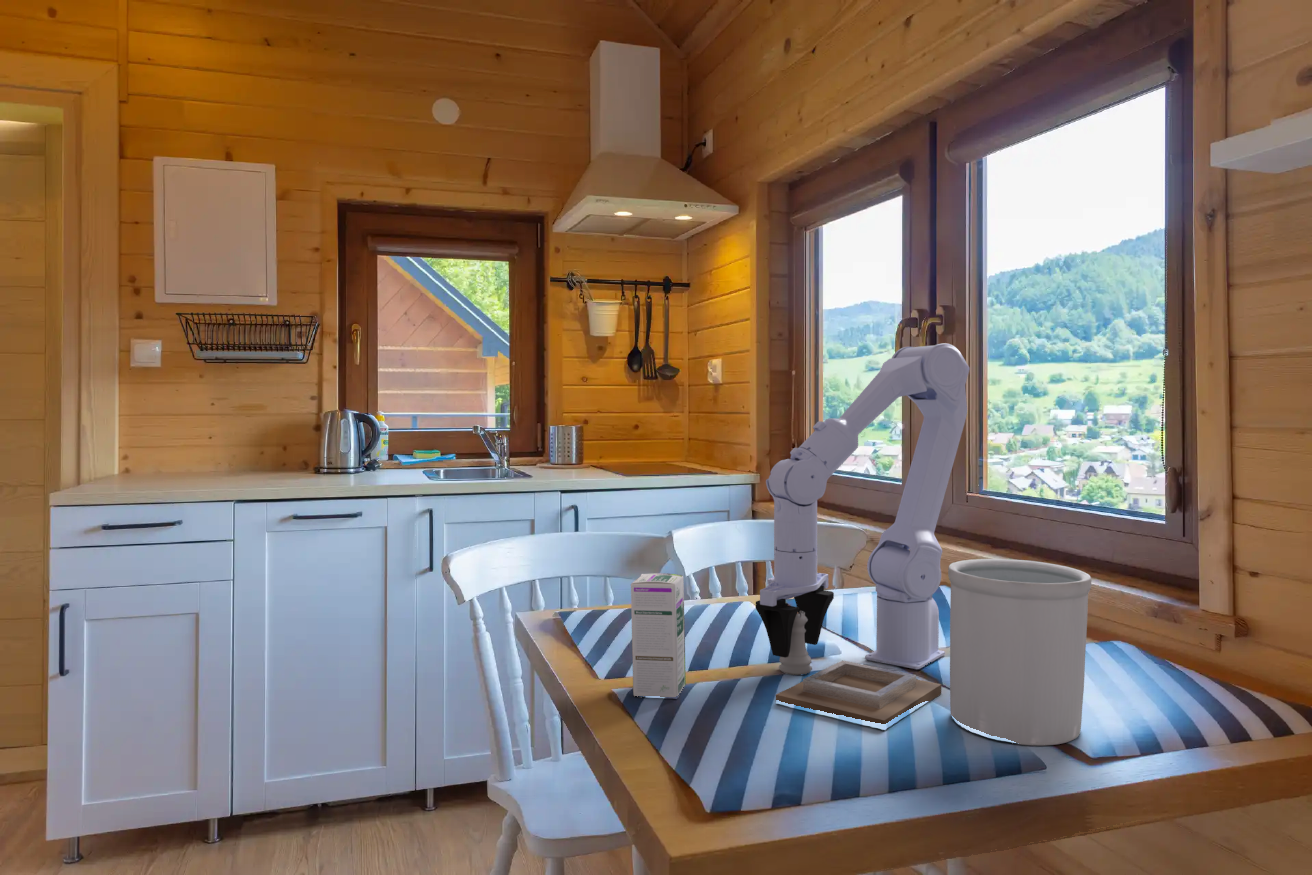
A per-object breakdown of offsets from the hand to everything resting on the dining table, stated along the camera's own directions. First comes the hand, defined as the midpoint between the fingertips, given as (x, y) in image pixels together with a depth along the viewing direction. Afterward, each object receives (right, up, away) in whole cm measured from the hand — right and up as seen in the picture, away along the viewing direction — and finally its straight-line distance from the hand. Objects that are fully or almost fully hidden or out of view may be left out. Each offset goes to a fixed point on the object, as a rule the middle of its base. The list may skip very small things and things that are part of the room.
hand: (795, 649), depth 122 cm
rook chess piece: (0, -3, 0) cm, 3 cm away
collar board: (+6, -3, -11) cm, 13 cm away
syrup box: (-18, -4, -8) cm, 20 cm away
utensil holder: (+22, -4, -20) cm, 30 cm away
